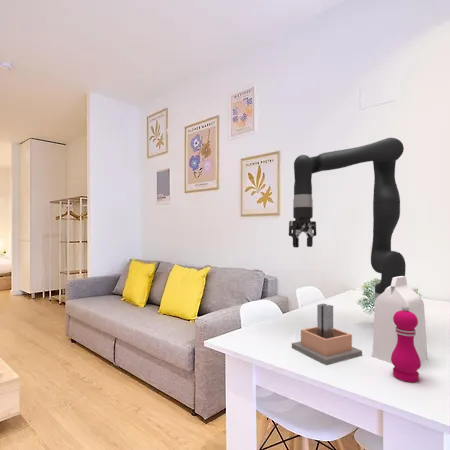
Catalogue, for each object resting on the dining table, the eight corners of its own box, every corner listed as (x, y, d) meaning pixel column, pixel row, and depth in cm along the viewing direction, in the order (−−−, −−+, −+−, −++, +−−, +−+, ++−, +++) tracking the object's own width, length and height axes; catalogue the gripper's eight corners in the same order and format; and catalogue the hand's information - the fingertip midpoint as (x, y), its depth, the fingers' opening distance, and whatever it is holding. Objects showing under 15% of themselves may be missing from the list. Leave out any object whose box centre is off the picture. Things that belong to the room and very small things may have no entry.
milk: (410, 369, 93) (409, 281, 94) (372, 356, 103) (372, 276, 103) (427, 359, 100) (427, 277, 101) (390, 348, 110) (390, 273, 110)
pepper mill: (394, 368, 94) (393, 301, 94) (422, 376, 89) (422, 304, 89) (388, 377, 88) (388, 305, 88) (418, 386, 83) (418, 309, 84)
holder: (325, 340, 118) (325, 322, 118) (362, 355, 104) (361, 335, 104) (291, 347, 110) (291, 328, 110) (326, 365, 96) (325, 343, 96)
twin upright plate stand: (322, 342, 111) (322, 302, 111) (336, 347, 106) (336, 305, 106) (314, 345, 108) (314, 304, 108) (328, 350, 103) (328, 307, 104)
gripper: (298, 205, 119) (298, 248, 119) (321, 206, 128) (321, 247, 127) (283, 206, 125) (283, 247, 125) (306, 207, 134) (306, 246, 133)
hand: (302, 247), depth 126 cm, fingers open, 8 cm apart
